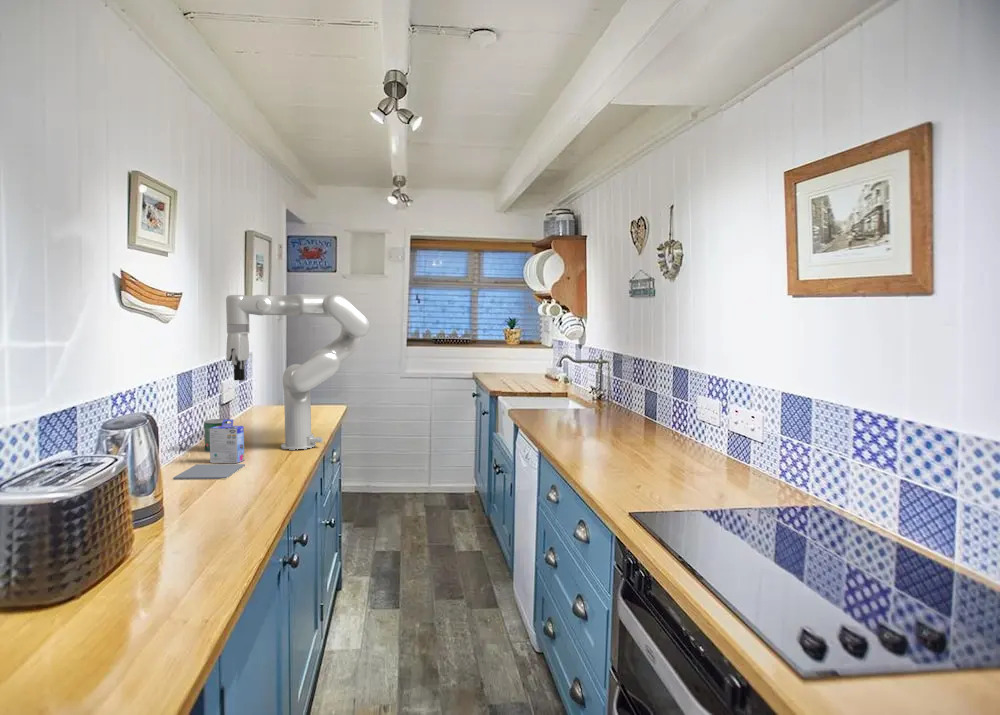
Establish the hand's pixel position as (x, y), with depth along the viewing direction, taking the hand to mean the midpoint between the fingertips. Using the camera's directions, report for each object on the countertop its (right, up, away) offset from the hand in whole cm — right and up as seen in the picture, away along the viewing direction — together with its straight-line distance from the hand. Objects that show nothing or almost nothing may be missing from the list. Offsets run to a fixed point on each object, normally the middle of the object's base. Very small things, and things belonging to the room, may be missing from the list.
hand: (239, 379), depth 223 cm
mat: (+1, -29, -25) cm, 38 cm away
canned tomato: (-11, -27, +7) cm, 30 cm away
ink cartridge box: (+1, -28, -11) cm, 30 cm away
